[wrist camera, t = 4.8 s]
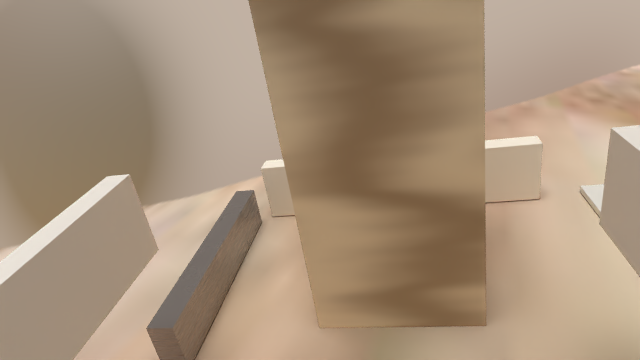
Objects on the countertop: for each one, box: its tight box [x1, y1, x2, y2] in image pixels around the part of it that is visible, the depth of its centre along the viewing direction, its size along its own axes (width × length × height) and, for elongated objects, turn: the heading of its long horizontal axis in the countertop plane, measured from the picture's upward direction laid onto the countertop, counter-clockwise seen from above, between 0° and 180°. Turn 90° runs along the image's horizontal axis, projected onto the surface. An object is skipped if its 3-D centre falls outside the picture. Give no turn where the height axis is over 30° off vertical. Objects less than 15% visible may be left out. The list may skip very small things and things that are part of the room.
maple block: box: [249, 0, 486, 328], centre depth 17 cm, size 6×6×12 cm
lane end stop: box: [146, 190, 262, 360], centre depth 20 cm, size 1×10×2 cm, turn 172°
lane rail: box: [261, 136, 543, 216], centre depth 24 cm, size 14×1×3 cm, turn 82°
